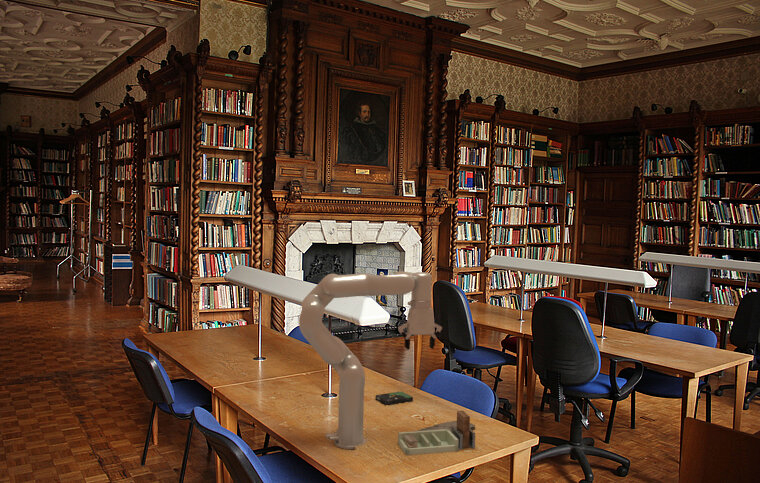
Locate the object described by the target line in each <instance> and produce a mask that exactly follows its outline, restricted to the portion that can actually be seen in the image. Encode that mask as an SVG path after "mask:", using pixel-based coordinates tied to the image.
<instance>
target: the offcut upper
mask: <svg viewBox="0 0 760 483" xmlns="http://www.w3.org/2000/svg"><path fill="white" fill-rule="evenodd" d="M404 440H405V441H406V442H407V443H408V444H409V445H410V446H416V445H417V443H418V441H417V440H416V439H415V438H414V437H413V436H412V435H406V436H405V438H404Z"/></svg>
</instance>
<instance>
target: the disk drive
mask: <svg viewBox="0 0 760 483" xmlns="http://www.w3.org/2000/svg"><path fill="white" fill-rule="evenodd" d="M375 400H376V401H377V402H378V403H381V404H382V405H383V404H384V406H385V407H386V405H388V406H392V405H393V406H394V405H400V404H399V403H401V404H406V403H405V402H408V403H413V402H414V397H413V396H412V395H411V394H408V393H405V392H404V391H395V392H394V391H393V392H387V393H382V394H376V395H375Z"/></svg>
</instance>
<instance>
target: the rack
mask: <svg viewBox="0 0 760 483" xmlns="http://www.w3.org/2000/svg"><path fill="white" fill-rule="evenodd" d="M406 435H412V436H413V437H414V438H415V439H416V440H417V441H418V443H417V446H418V448H408V447H407V446H406V444H405V443H404V438H405V436H406ZM458 441H459V440H458V439H457V438H456V437H455V436H454V435H453V434H452V433H451V431H450V430H449V429H442V430H428V431H417V430H414V431H401V432H398V433H397V445H398V446H399V447H400V449H401V450H402V452H403V453H404V454H405V456H413V455H416V456H417V455H423V454H424V455H427V454H440V453H450V452H452V453H453V452H459V449H458Z"/></svg>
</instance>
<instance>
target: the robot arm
mask: <svg viewBox="0 0 760 483" xmlns="http://www.w3.org/2000/svg"><path fill="white" fill-rule="evenodd" d="M432 280H433V278H432V275H431V273H430V272H426V271H425V272H424V271H423V272H422V271H417V272H416V271H415V272H411V271H410V272H409V271H402V270H400V271H399V270H398V271H396V272H394V273H393V274H390V275H387V274H386V275H383V274H382V275H380V274H373V273H368V272H367V273H366V272H364V273H363V272H362V273H353V274H352V273H351V274H338V273H329V274H327V275H325V276H324V277H323V278H322V279H321V281H319V282H318V284H317V285H316V286H315V287H313V289H312V290H310V292H309V293H308V294H307V295H306V296H305V297H304V298H303V300H302V302H301V312H300V315H299V318H298V319H299V320H298V326H299V330H300V332H301V334H302V336H303V337H304V339H305V340H306V341H307V342H308V343H309V345H310V346H312V348H313V349H314V351H315V352H316V353H317V354H318V355H319V356H320V358H321V359H322V360H323V362H325V363H326V364H327V365H329V366H331V367H332V368H333V369H334V370H335V371H336V372H337V374H338V377H339V378H338V380H339V382H338V383H339V384H338V386H339V387H338V419H337V421H338V422H337V423H338V427H337V428H338V429H336V431H335V432H332V433H331V432H330V433H329V432H328V433H325V439H326V440H327V439H328V440H329V439H330V440H329V441H333V444H334V445H335V446H336V447H337V448H341V449H345V450H356V449H357V448H356V447H359V446H363V445H365V444H366V443H367V442H368V439H367V438H366V436H364V415H365V414H364V410H365V408H364V407H365V405H364V400H365V385H366V373H365V368H364V367H363V365H362V362H361V361H360V360H359V358H358V357H357V356H356V355H355V354H354V352H352V351H351V350H350V349H349V348H348V346H347V345H346V344H345V342H344V341H343V340H342V339H340V337H337V336H335V335H333V334H332V333H331V332H330V330H329V329H328V328H327V327H326V326H325V324H324V323H323V317H324V315H325V311H326V310H325V308H326V307H328V305H330V303H331V302H332V301H333V300H334V299H341V298H353V297H354V298H355V297H366V296H367V297H369V296H370V297H375V296H376V297H377V296H378V297H379V296H397V295H398V296H399V295H407V294H409V293H410V294H411V297H410V298H411V299H410V301H407V306H410V307H408V308H409V309H408V314H407V319H406V320H407V321H406V323H404V324H402V325H400V326H398V327H397V328H398V331H399V333H400V336H402V337H403V338H404V348H405V349H406V350H408V351H409V350H411V347H410V346H411V340H410V337H411V336H412V335H413V336H426V335H427V336H430V337H429V348H430V349H431V350H434V347H435V346H436V339H437V337H438V336H439V335H440V334H441V331H442V330H443V326H441V325H439V324H438V323H435V317H434V308H433V307H431V306H432ZM435 328H436V330H435ZM405 329H406V332H404V330H405Z"/></svg>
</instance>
